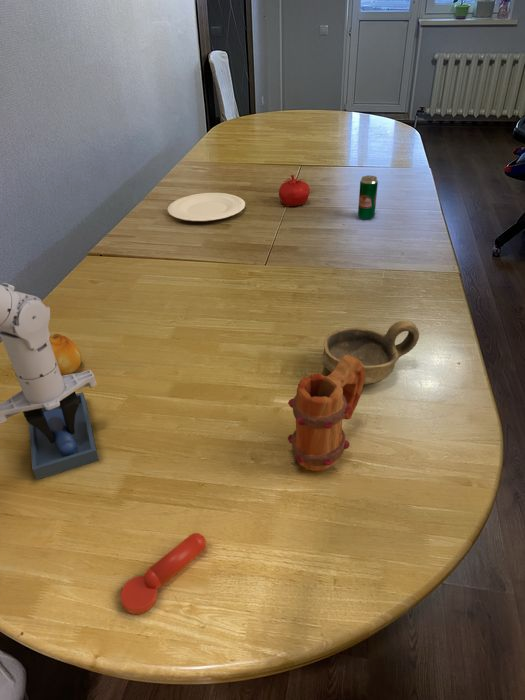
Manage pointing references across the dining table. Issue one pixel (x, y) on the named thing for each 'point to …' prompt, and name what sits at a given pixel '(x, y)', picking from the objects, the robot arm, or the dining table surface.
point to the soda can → (367, 197)
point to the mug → (325, 413)
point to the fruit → (65, 354)
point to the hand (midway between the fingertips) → (61, 434)
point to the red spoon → (160, 575)
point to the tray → (48, 454)
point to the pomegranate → (294, 192)
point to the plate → (206, 207)
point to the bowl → (370, 348)
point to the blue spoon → (60, 432)
